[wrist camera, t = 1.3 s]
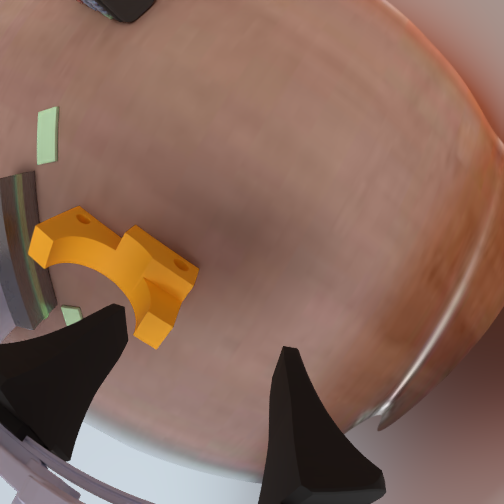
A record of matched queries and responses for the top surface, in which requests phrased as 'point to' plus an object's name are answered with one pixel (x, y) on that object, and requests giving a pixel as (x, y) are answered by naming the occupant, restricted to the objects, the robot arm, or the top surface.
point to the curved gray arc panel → (22, 253)
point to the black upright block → (119, 8)
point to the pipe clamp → (120, 266)
